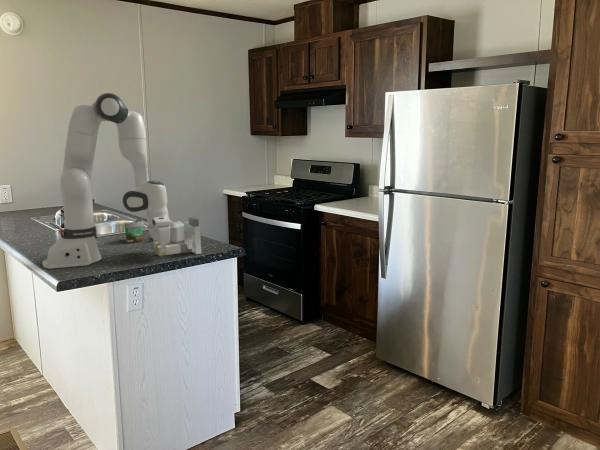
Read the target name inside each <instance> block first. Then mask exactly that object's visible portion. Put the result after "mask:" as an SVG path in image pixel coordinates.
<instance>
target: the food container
mask: <svg viewBox="0 0 600 450" xmlns="http://www.w3.org/2000/svg"><path fill="white" fill-rule="evenodd" d="M144 225H145V223H144V220H143V219H142V218H141V219H140V218H136V220H135V221H130V222H129V223H127V222H126V223H125V222H124V225H123V228H124V230H125V238H126V239H125V240H126V244H137V243H141V242H143V241H144V240H143V239H144V238H143V233H144V232H143V231H144V228H143V227H144Z"/></svg>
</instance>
